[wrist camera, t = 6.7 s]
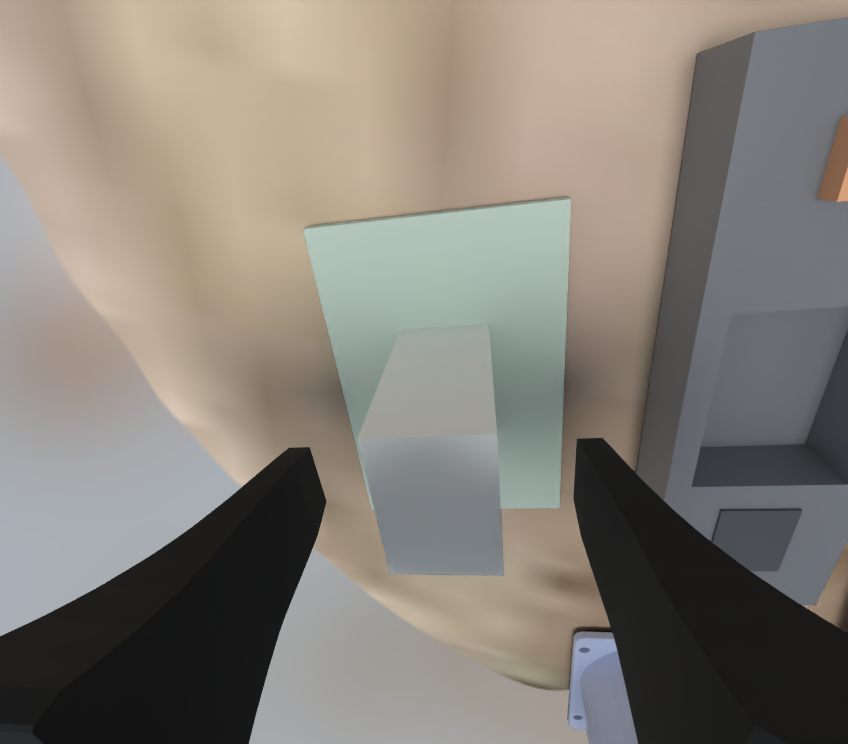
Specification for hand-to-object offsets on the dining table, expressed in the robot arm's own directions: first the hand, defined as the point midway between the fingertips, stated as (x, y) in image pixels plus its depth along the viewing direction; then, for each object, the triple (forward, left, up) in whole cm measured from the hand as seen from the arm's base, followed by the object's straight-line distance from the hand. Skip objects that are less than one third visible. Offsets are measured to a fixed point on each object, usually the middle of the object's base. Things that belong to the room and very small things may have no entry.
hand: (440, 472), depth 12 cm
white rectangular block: (0, 0, -4) cm, 4 cm away
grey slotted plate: (0, -10, -5) cm, 11 cm away
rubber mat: (0, 0, -5) cm, 5 cm away
